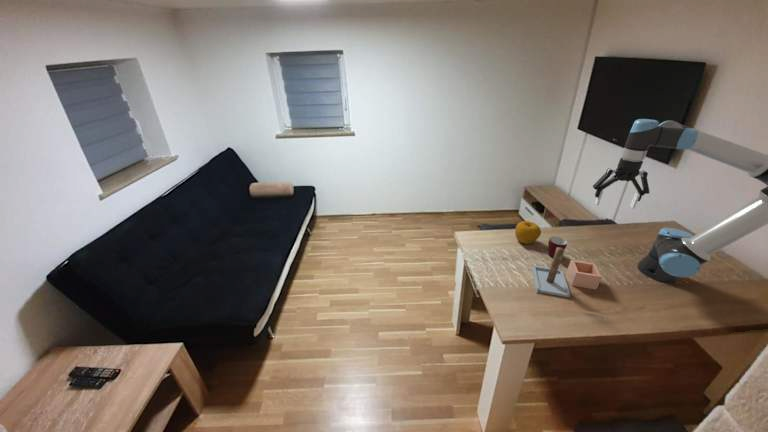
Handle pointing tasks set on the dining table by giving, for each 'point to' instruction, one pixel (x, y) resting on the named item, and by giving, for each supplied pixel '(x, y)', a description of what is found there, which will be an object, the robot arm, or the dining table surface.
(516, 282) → the dining table surface
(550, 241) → the mug
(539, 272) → the tray
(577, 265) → the pink open square box
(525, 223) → the apple
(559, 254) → the dowel
